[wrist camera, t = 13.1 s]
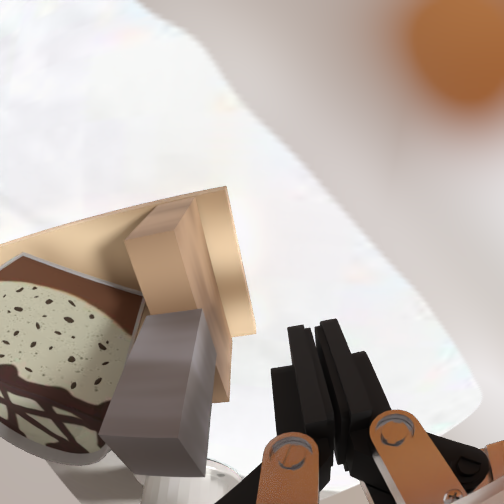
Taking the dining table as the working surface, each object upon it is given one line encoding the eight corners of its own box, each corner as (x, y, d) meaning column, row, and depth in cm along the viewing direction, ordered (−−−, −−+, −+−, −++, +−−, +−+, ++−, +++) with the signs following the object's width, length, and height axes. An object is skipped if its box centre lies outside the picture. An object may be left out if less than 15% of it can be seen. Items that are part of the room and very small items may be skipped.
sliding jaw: (235, 339, 19) (230, 509, 9) (198, 344, 19) (171, 508, 9) (199, 196, 15) (121, 337, 5) (154, 205, 16) (34, 342, 5)
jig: (255, 324, 20) (259, 393, 15) (19, 345, 21) (-13, 389, 16) (226, 185, 17) (216, 219, 11) (-25, 253, 18) (-71, 287, 12)
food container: (14, 316, 19) (-55, 403, 10) (7, 245, 16) (-90, 325, 7) (158, 370, 20) (125, 495, 11) (172, 300, 18) (124, 444, 9)
